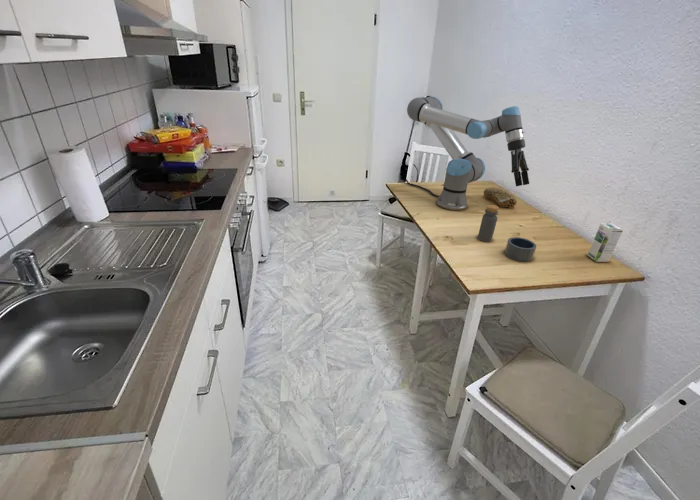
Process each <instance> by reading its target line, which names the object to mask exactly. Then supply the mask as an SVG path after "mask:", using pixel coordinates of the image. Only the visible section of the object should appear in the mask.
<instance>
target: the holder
mask: <svg viewBox="0 0 700 500" xmlns="http://www.w3.org/2000/svg"><path fill="white" fill-rule="evenodd" d="M536 249H537V244H536V243H535V242H534V241H532V240H530V239H528V238H524V237H520V236H517V237H516V236H514V237H513V236H511V237H509V238H508V239H507V241H506V245H505V248H504V254H505V256H506V257H507V258H510V259H511V260H514V261H517V262H525V263H527V262H530V261H532V260H533V258H534V255H535V253H536Z"/></svg>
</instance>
